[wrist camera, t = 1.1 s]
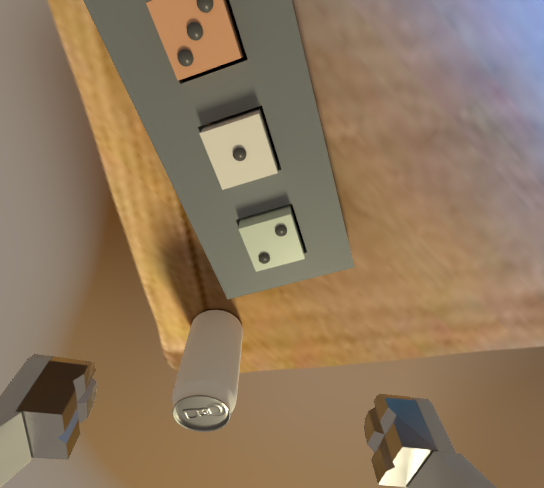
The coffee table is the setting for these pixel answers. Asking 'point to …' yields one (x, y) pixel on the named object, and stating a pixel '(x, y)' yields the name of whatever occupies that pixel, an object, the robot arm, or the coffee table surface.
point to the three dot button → (195, 34)
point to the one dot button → (240, 148)
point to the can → (209, 372)
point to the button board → (223, 103)
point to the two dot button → (272, 238)
